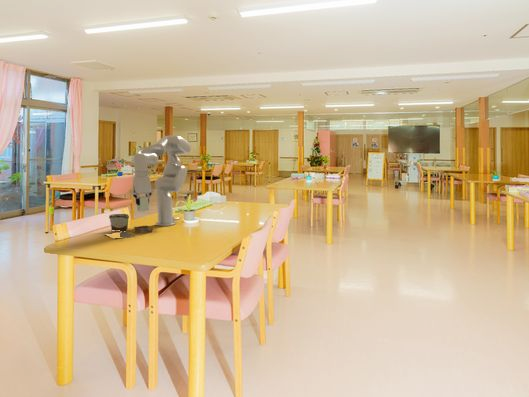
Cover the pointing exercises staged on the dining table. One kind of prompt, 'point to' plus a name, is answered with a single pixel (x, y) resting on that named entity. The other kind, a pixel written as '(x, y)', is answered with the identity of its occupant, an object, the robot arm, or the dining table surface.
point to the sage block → (143, 204)
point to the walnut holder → (143, 229)
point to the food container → (119, 222)
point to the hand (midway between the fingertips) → (142, 204)
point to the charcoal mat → (125, 234)
